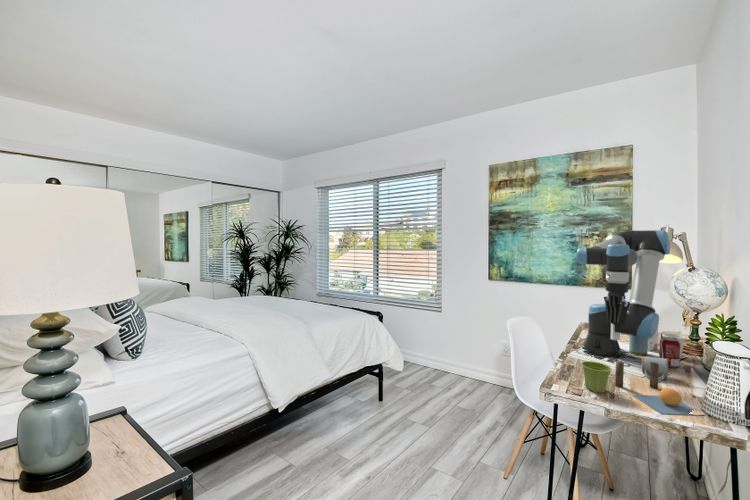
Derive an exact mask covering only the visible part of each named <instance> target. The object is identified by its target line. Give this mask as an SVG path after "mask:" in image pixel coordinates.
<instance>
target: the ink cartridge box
mask: <svg viewBox="0 0 750 500" xmlns="http://www.w3.org/2000/svg"><path fill="white" fill-rule="evenodd" d="M658 343H659V327H658V328H657V331H656V333H655V334H654V336H653V337H651V338H648V352H649V351H654V350H658V345H659V344H658Z"/></svg>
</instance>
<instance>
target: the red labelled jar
mask: <svg viewBox="0 0 750 500" xmlns="http://www.w3.org/2000/svg"><path fill="white" fill-rule="evenodd" d="M658 352H659V353H658V358H664V359H668V368H677V367H680V362H681V361H680V360H681V359H680V343H679V342H678V339H677V338H673V337H663V336H661V339H660V340H659V351H658Z"/></svg>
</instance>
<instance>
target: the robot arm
mask: <svg viewBox="0 0 750 500" xmlns="http://www.w3.org/2000/svg"><path fill="white" fill-rule="evenodd" d="M669 254H671V242H670V235H669V234H668V232H667V231H666V230H658V229H654V230H623V231H621V232H616V233H614V234H611V235H609V236H606V238H605V239H604V240H603V241H601V242H599V243H597V244H595V245H593V246H591V247H579V248H578V249H577V251H576V253H575V258H576V261H577V263H578V264H581V265H587V266H588V265H591V266H592V265H593V266H595V265H597V266H606V267H605V268H606V269H605V272H606V273H605V280H606V282H605V291H606V292H608V293H607V296H604V297H603V300H604V303H594V304H593V303H592V304H591V305H589V307H588V313H587V314H588V318H587V319H588V320H587V321H588V323H587V328H588V329H587V336H586V337H585V340H584V342H583V349H584V350H585V351H586V350H587V352H590V353H592V354H594V355H595V354H596V355H600V356H610V357H613V356H614V357H617V356H620V355H621V347H620V343H619V341H620V340H621V339H620V338H621V334H622V335H628V336H630V335H633V336H637V337H644V338H651V337H653V336H654V334H655V333H656V331H657V328H658V329H659V323H660V316H659V314H658V313H657V312H656V309H655V308H654V307H653V303H654V296H655V291H656V290H655V289H656V284H657V283H656V282H657V278H658V273H659V267H660V262H661V261H662V260H664V259H665V255H666V256H667V255H669ZM633 265H635V268H634V274H633V278H632V279H633V280H632V283H631V290H630V293H629V294H630V295H629V299H628V300H629V301H627V300H626V298H627V297H626V294H627V293H628V292H629V283H628V282H629V281H630V280H629V279H630V278H629V276H630V275H629V274H630V273H629V271H630V270H629V269H630V267H632V266H633Z"/></svg>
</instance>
